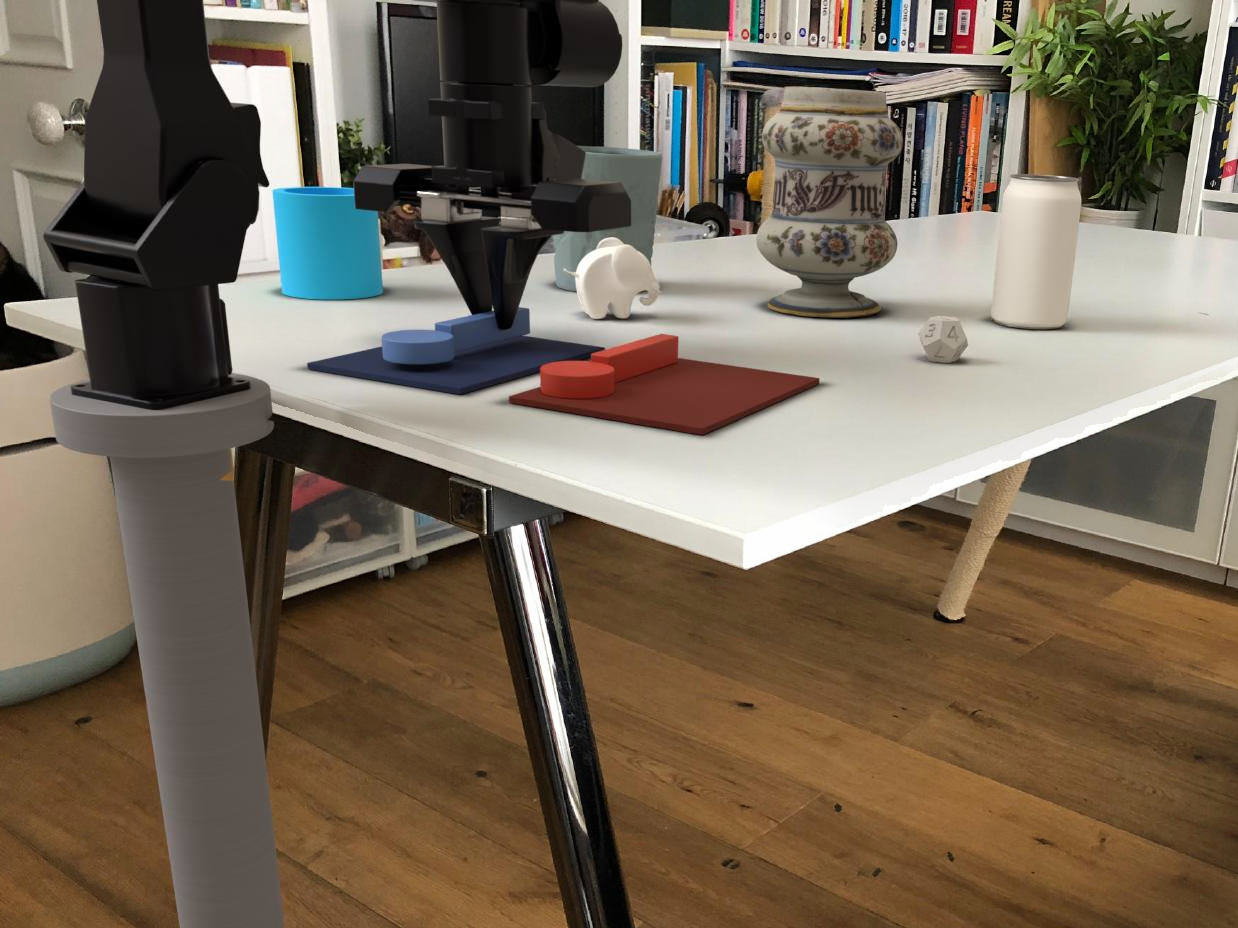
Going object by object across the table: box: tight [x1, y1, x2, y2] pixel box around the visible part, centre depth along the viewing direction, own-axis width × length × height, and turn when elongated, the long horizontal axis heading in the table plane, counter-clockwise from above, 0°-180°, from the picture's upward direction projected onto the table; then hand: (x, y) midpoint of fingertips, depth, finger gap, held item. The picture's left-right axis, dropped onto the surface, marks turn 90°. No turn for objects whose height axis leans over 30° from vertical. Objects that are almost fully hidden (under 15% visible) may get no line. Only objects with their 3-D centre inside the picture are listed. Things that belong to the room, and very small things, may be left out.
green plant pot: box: [552, 145, 663, 292], centre depth 118 cm, size 10×10×12 cm
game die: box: [918, 315, 969, 364], centre depth 95 cm, size 4×4×3 cm
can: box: [990, 173, 1082, 330], centre depth 110 cm, size 6×6×12 cm
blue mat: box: [306, 335, 606, 395], centre depth 87 cm, size 16×12×1 cm
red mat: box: [508, 357, 820, 436], centre depth 81 cm, size 16×13×1 cm
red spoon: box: [539, 333, 679, 399], centre depth 82 cm, size 13×4×2 cm, turn 155°
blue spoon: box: [381, 306, 531, 365], centre depth 87 cm, size 13×4×2 cm, turn 155°
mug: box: [271, 186, 384, 300], centre depth 111 cm, size 12×8×8 cm
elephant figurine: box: [563, 237, 664, 320], centre depth 105 cm, size 7×8×6 cm
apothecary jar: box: [755, 85, 904, 319], centre depth 111 cm, size 12×12×18 cm
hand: (494, 327), depth 90 cm, fingers closed on blue spoon, 1 cm apart
